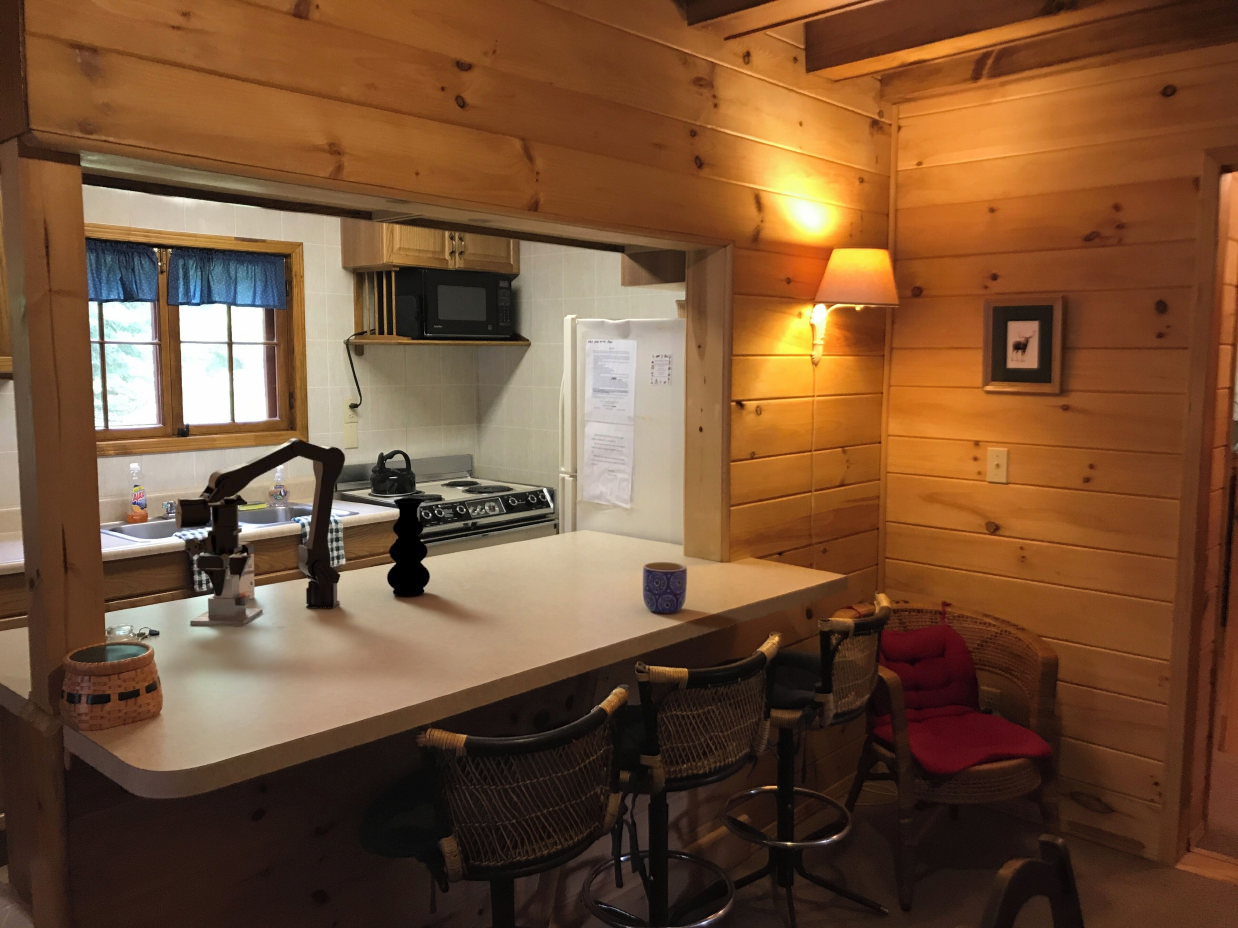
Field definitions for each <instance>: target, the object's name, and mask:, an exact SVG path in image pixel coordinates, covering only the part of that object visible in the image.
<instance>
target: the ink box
mask: <svg viewBox="0 0 1238 928" xmlns="http://www.w3.org/2000/svg"><path fill="white" fill-rule="evenodd" d="M246 555H247V554H246ZM249 556H251V558H250V560H249V562H248V564H247V566H246V568H245V570H244V573H243V575H242V577H241V579H240V582H239V593H246V594H247V595H249V600H250V599H254V598H255V597H256V596H255V561H254V559H255V552H254V553H253V554H251V555H249ZM227 567H229V566H227ZM228 575H230V570H229V572H228Z"/></svg>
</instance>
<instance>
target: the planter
mask: <svg viewBox="0 0 1238 928" xmlns="http://www.w3.org/2000/svg"><path fill="white" fill-rule="evenodd" d="M687 585H688V567H687V566H686V565H685V564H682V563H677V562H671V561H670V562H669V561H668V562H667V561H658V562H657V561H656V562H648V563H646V564H645V563H644V565H643V567H642V599H643V602H644V605H645V607H646V608H647V609H648V610H649V611H650V612H652V613H656V614H660V615H661V614H662V615H663V614H664V615H668V614H670V615H671V614H675V613H678V612H679V611H681V609H682V608H683V607H684V605H685V604H686V600H687V591H688V590H687V589H688V588H687V587H688V586H687Z"/></svg>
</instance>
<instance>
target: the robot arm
mask: <svg viewBox="0 0 1238 928" xmlns="http://www.w3.org/2000/svg"><path fill="white" fill-rule="evenodd" d="M298 457H301V458H302V459H303V458H304V459H307V460H310V461H312V469H313V474H314V478H315V485H314V486H315V487H314V494H313V500H312V501H313V502H312V509H311V515H310V516H311V517H310V523H309V533H308V537H307V539H306V542H305V543H304V545H302V544H299V545H298V546H297V547H298V548H297V549H298V550H297V551H298V555H297V557H296V559H295V560H296V562H298V568H299V569H300V571H301V573H302V572H303V573H304V574H305V575H306V578H307V579H308V580H309V581H308V582H307V587H306V588H305V593H306V594H305V596H306V599H305V600H306V606H305V609H334V608H335V607H336V606H337V605H339V604H340V600H338V583H340V582H339V580H340V579H341V578H340V577H341V574H340V573H339V572H337V570H336V569H334V568H333V567H332V566H331V565H332V564H331V563H332V562H331V551H330V547H329V542H328V541H329V540H328V539H329V531H330V525H331V517H332V509H333V503H334V494H335V487H336V484H337V482H338V480H339V478H340V477H341V475H342V472H343V468H344V466H345V462H346V455H345V453H344V452H343V451H342V449H340V448H338V447H336V446H333V445H332V446H331V445H327V444H326V445H320V446H319V445H316V444H314V443H310V442H307V441H305V440H303V439H300V438H295V437H294V438H290V439H288V440H287V441H286V442H285V443H282V444H280V445H278V446H276V447H273V448H272V449H270V450H268V451H266V452H264V453H261V454H259V455H258V456H255V457H254V458H252V459H250V460H247V461H245V462H244V463H240V464H236V465H232V466H227V467H224V468H222V469H218V470H215V471H214V472H212V473H211V474H210V475H209V478H208V481H207V482H208V484H207V485H206V487H205V488H204V490H203V491H202V492H201V494H200V495H199V496H198V497H194V498H184V497H180V498H178V499H177V504H176V507H175V512H174V518H175V524H176V528H177V529H178V530H180V529H194V528H205V527H206V526H207V524H210V523H211V529H210V530H208V531H207V534H206V535H207V536H206V537H202V538H199V539H198V538H197V537H192V538H189V539H186V541H185V544H184V547H185V548H184V552H186V553H188V554H189V555H190V557H191V558H193V557H195V556H197V555H199V554H201V555H199V556H198V557H197V558H196V559H195V567H196V569H198V570H199V571H200V572H204V574H206V575H207V576H208V579H209V581H210V583H211V585H212V589H213V593H214V592H215V595H216V596H221V595H222V592H223V589H224V586H225V582H226V579H227V576H228V572H229V570H230V575H239V582H240V579H241V577H242V575H243V573H244V570H245V568H246V566H247V564H248V562H249V560H250V558H251V556H249V555H251V554H253V553H254V554H255V548H254V547H255V546H254V545H253V544H252V542H250V541H239V540H240V539H239V538H240V536H239V535H240V533H242V532H243V530H242V529H243V528H242V527H240V526H239V506H247V505H248V501H246V500H245V499H244V498H243V497H242V496H241V495H240V494H238V493H240V492H241V491H242V490H244V489H245V488H246V487H247V486H249V484H250V483H251V482H252V481H254V480H255V479H256V478H258V477H260V476H262V475H264V474H266V473H268V472H270V471H272V470H274V469H276V468H278V467H280V466H281V465H283V464H285V463H286V464H287V462H289V461H291V460H293V459H296V458H298ZM204 552H206V553H204ZM202 553H203V554H202ZM246 554H247V555H246ZM227 566H229V567H227Z"/></svg>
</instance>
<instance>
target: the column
mask: <svg viewBox="0 0 1238 928" xmlns="http://www.w3.org/2000/svg"><path fill="white" fill-rule="evenodd" d="M238 595H239V575H228V576H227V579H226V582H225V586H224V589H223V592H222V595H221V596H216V595H215V592H214V591H213V596H214V598H235V597H237V596H238Z"/></svg>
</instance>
